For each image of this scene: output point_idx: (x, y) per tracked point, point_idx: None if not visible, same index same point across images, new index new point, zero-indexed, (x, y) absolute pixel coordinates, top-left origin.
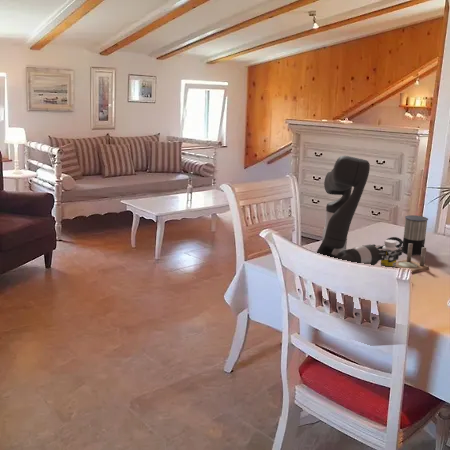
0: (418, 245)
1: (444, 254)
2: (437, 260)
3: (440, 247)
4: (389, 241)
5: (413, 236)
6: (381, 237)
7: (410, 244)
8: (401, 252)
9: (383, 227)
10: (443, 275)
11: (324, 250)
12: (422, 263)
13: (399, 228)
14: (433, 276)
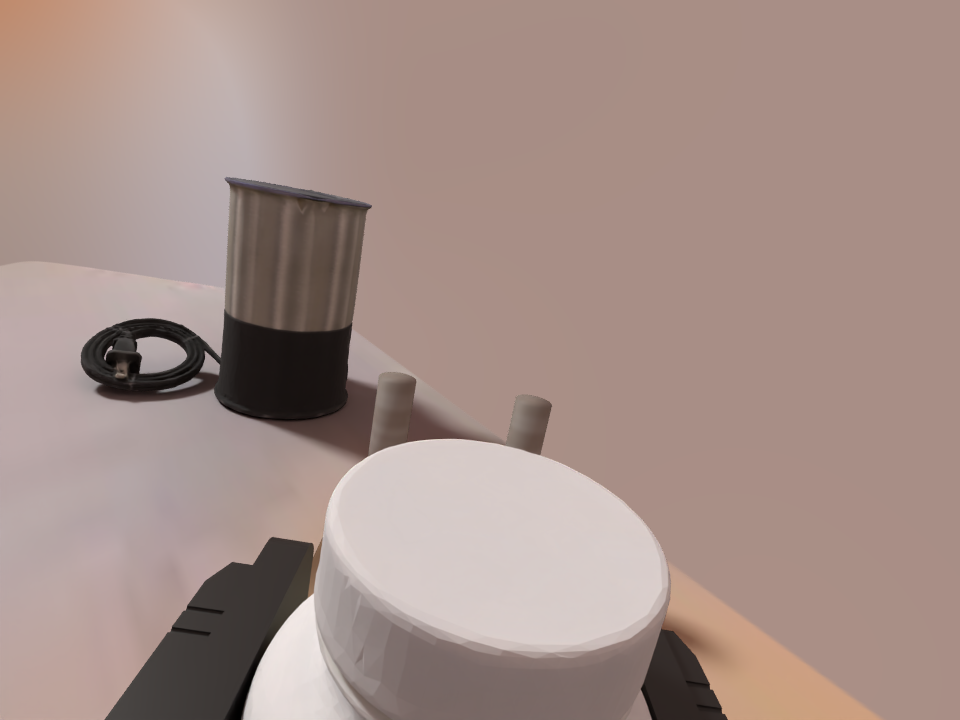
0: (333, 359)
1: (416, 379)
2: (450, 428)
3: (355, 344)
4: (505, 552)
5: (308, 308)
6: (46, 324)
7: (405, 385)
8: (691, 676)
9: (46, 275)
10: (687, 585)
11: None
12: None
13: (126, 278)
14: (701, 653)
